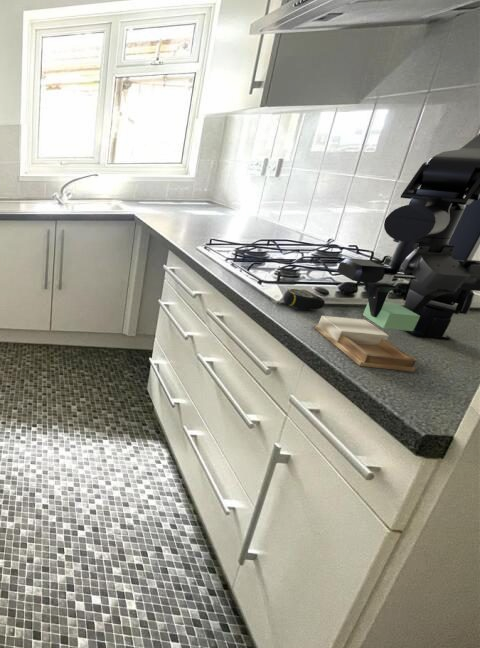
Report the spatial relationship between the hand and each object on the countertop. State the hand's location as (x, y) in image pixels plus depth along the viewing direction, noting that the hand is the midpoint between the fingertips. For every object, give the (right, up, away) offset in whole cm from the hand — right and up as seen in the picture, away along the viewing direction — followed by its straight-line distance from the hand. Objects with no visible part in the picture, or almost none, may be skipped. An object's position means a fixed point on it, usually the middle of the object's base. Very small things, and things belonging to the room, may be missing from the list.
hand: (388, 317), depth 76 cm
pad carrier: (+1, -6, +6) cm, 9 cm away
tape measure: (+4, +2, +26) cm, 26 cm away
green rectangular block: (0, -1, 0) cm, 1 cm away
